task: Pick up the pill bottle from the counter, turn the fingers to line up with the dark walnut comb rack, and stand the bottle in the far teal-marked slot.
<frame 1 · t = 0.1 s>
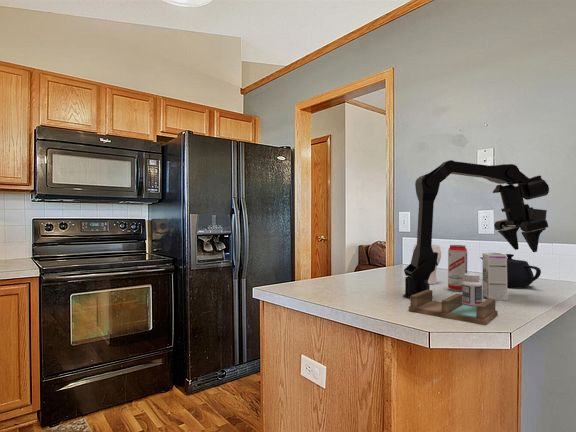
hand: (525, 250, 115), 15 cm above the worktop, tool pointing down, fingers open, 9 cm apart
comb rack: (452, 313, 96), on the worktop
pill bottle: (472, 305, 107), on the worktop
beer can: (457, 290, 128), on the worktop
cup: (426, 283, 143), on the worktop
syrup box: (494, 299, 115), on the worktop
teapot: (507, 285, 140), on the worktop
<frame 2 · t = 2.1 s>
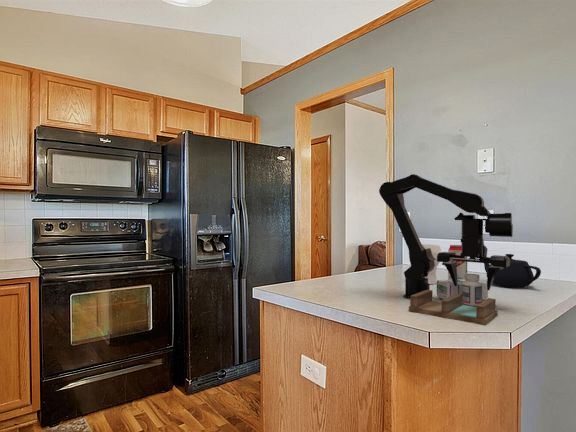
hand: (471, 288, 107), 5 cm above the worktop, tool pointing down, fingers open, 8 cm apart
syrup box: (482, 289, 116), point 3 cm above the worktop, touching gripper
everything else where it was.
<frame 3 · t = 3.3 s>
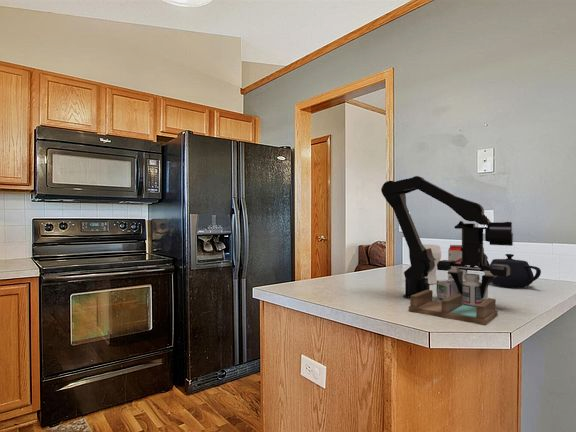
hand: (472, 296, 107), 2 cm above the worktop, tool pointing down, fingers closed on pill bottle, 5 cm apart
pill bottle: (472, 304, 107), on the worktop, touching gripper
everything else where it was.
when the fingers open (4 cm above the worktop, at t = 8.1 s): pill bottle stays where it is, resting on comb rack.
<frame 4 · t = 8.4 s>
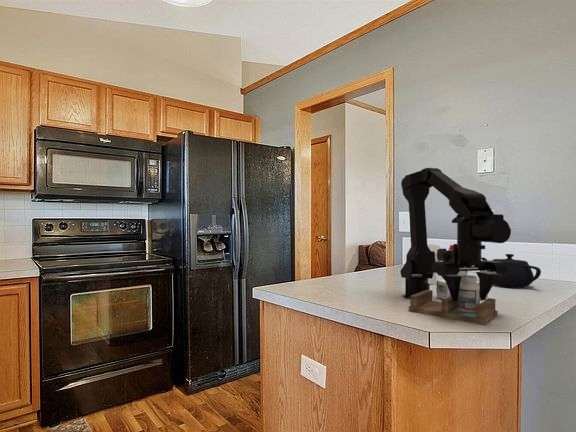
hand: (468, 300, 93), 4 cm above the worktop, tool pointing down, fingers open, 8 cm apart
pill bottle: (468, 311, 94), point 1 cm above the worktop, touching comb rack
syrup box: (482, 289, 116), point 3 cm above the worktop
everything else where it was.
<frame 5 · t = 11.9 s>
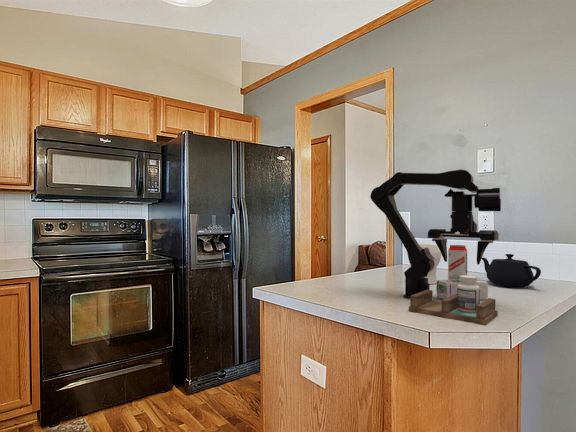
hand: (461, 262, 109), 12 cm above the worktop, tool pointing down, fingers open, 9 cm apart
nothing on the worktop moved.
at the end: pill bottle inside the target area on the comb rack (0.2 cm from its centre), point 1.2 cm above the comb rack's base; pill bottle tilted 0°; the gripper is holding nothing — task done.
